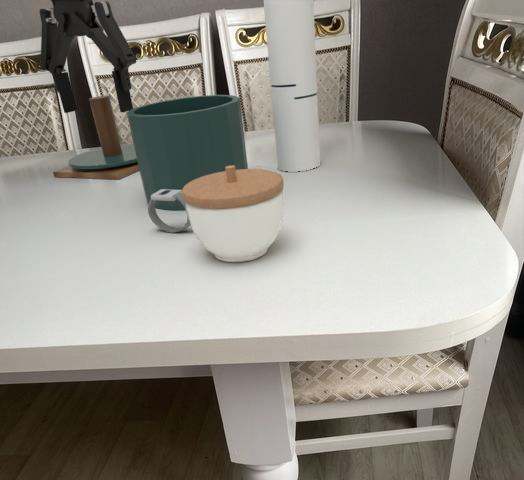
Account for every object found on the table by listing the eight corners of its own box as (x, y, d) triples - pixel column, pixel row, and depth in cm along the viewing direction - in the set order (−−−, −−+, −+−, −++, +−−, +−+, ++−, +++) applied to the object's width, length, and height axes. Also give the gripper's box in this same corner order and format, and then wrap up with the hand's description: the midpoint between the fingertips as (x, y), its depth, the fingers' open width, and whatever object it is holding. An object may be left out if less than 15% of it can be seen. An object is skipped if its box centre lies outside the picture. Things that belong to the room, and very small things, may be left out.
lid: (51, 170, 100) (31, 107, 94) (112, 148, 112) (98, 91, 106) (116, 174, 92) (99, 105, 86) (175, 150, 104) (163, 88, 98)
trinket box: (278, 228, 64) (271, 148, 59) (298, 261, 55) (291, 171, 50) (191, 242, 63) (177, 162, 58) (197, 278, 54) (180, 188, 49)
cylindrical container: (281, 161, 92) (267, -11, 78) (322, 159, 90) (315, -17, 77) (274, 172, 86) (257, -11, 72) (317, 170, 84) (309, -18, 71)
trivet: (54, 177, 100) (52, 171, 99) (109, 155, 111) (108, 150, 111) (119, 179, 93) (117, 173, 92) (170, 156, 105) (169, 151, 104)
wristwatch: (200, 228, 67) (194, 189, 64) (189, 236, 65) (182, 196, 62) (160, 226, 70) (152, 188, 67) (149, 233, 68) (140, 195, 65)
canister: (125, 207, 78) (103, 117, 72) (184, 176, 90) (170, 97, 83) (215, 213, 72) (200, 114, 65) (266, 179, 83) (258, 93, 76)
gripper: (139, -40, 83) (164, 106, 94) (28, -22, 93) (63, 108, 105) (108, -41, 77) (139, 114, 89) (-7, -22, 88) (34, 115, 99)
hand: (98, 111), depth 97 cm, fingers open, 13 cm apart
